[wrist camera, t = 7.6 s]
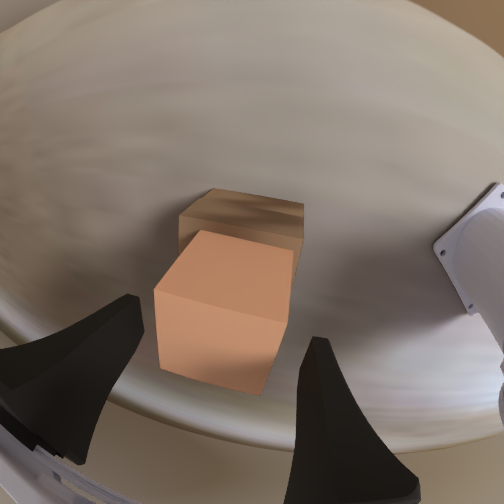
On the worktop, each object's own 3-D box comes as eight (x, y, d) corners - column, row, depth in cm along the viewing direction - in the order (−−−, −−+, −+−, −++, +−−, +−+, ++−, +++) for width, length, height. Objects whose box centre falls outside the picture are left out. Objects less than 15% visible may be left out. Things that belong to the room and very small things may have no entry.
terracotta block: (293, 250, 13) (287, 323, 9) (273, 321, 15) (260, 395, 11) (200, 229, 13) (153, 289, 9) (194, 301, 15) (160, 368, 11)
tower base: (303, 202, 18) (304, 217, 15) (287, 278, 21) (284, 303, 18) (214, 187, 18) (200, 199, 16) (209, 263, 21) (196, 284, 19)
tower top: (303, 217, 15) (303, 239, 13) (282, 302, 18) (278, 333, 15) (199, 197, 16) (179, 215, 13) (194, 283, 19) (178, 310, 16)
